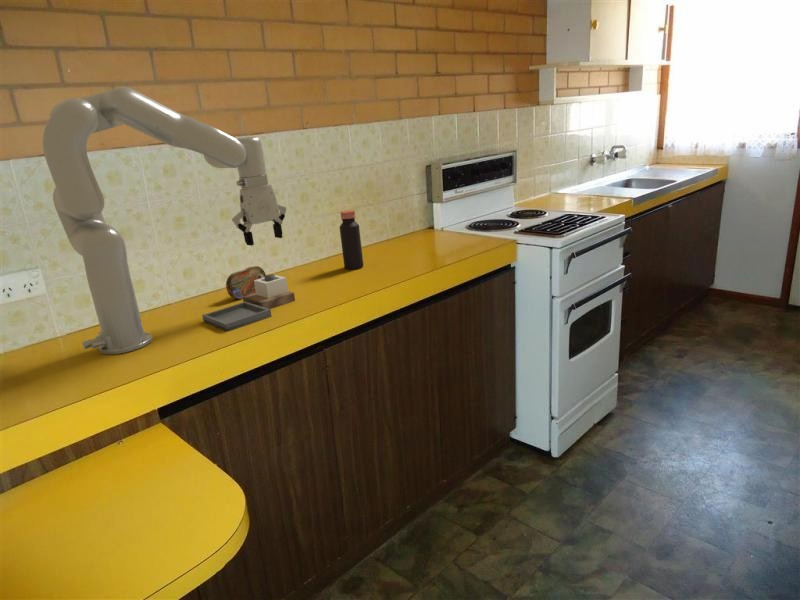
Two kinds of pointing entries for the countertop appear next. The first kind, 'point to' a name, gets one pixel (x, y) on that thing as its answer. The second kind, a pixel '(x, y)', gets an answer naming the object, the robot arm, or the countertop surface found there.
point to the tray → (236, 316)
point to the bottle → (351, 241)
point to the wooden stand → (271, 301)
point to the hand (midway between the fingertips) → (264, 241)
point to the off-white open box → (271, 287)
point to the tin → (243, 282)
